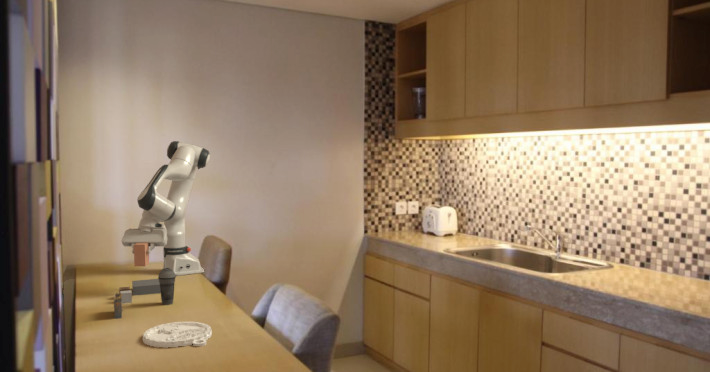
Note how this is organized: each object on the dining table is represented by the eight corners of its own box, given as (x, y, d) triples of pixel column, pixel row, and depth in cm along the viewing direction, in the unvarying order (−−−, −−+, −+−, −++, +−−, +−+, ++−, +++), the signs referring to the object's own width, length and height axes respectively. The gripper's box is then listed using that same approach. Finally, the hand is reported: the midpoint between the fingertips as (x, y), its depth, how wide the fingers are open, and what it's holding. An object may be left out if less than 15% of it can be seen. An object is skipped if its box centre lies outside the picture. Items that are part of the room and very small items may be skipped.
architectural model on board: (122, 319, 224) (122, 294, 224) (114, 319, 223) (113, 295, 223) (123, 311, 235) (122, 288, 234) (115, 312, 234) (114, 289, 233)
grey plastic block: (131, 300, 251) (131, 290, 251) (131, 302, 247) (131, 292, 247) (120, 301, 250) (120, 291, 249) (120, 303, 246) (120, 293, 245)
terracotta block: (138, 264, 264) (137, 242, 264) (149, 264, 264) (148, 242, 264) (134, 266, 259) (133, 244, 259) (145, 266, 259) (144, 244, 259)
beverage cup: (170, 306, 241) (169, 259, 240) (155, 305, 243) (154, 259, 242) (179, 301, 248) (178, 256, 247) (164, 300, 250) (163, 255, 249)
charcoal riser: (161, 286, 276) (160, 278, 276) (162, 292, 264) (162, 284, 264) (132, 289, 271) (132, 280, 271) (133, 295, 259) (132, 286, 259)
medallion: (187, 323, 218) (187, 317, 218) (231, 338, 201) (231, 331, 201) (129, 339, 200) (129, 332, 200) (173, 356, 183) (173, 349, 183)
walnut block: (130, 296, 258) (129, 286, 258) (130, 298, 254) (130, 288, 254) (119, 297, 256) (119, 287, 256) (119, 299, 252) (119, 289, 252)
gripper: (124, 224, 268) (116, 248, 258) (167, 224, 268) (161, 248, 259) (127, 232, 272) (120, 256, 263) (170, 232, 273) (164, 256, 264)
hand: (141, 252), depth 261 cm, fingers closed on terracotta block, 5 cm apart
